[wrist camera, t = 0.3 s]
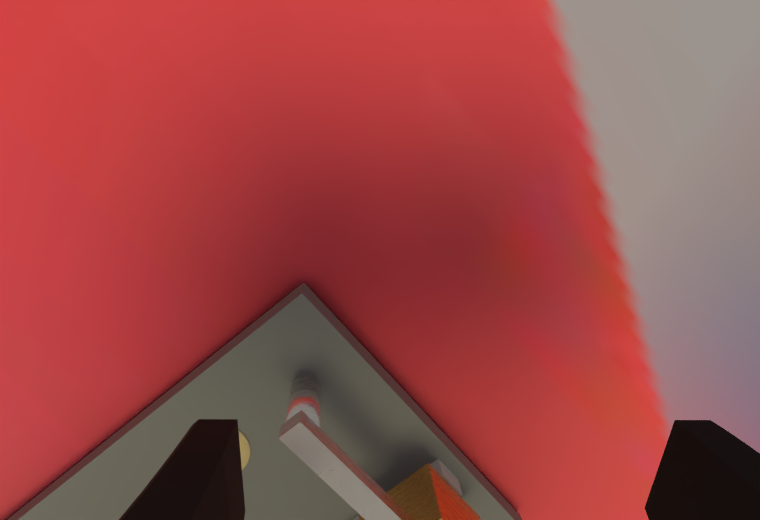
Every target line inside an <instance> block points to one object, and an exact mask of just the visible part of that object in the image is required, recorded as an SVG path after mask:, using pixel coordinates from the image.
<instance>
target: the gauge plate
mask: <svg viewBox="0 0 760 520" xmlns="http://www.w3.org/2000/svg"><path fill="white" fill-rule="evenodd" d="M304 375H308V376H312V377H314V378H316V379H317V380H318V381H319V383H320V385H321V409H320V428H321V429H322V430H323V431H324V432H325V433H326V434H327V435H328V436H329V437H330V438H331V439H332V440H333V441H334V442H335V443H336V444H337V445H338V446H339V447H340V448H341V449H342V450H343V451H344V452H345V453H346V454H347V455H348V456H349V457H350V458H351V459H352V460H353V461H354V462H355V463H356V464H357V465H359V466H360V467H361V468H362V469H363V470H364V471H365V472H366V473H367V474H368V475H369V476H370V477H371V478H372V479H373V480H374V481H375V482H376V483H377V484H378V485H379V486H380V487H381V488H382V489H383V490H384V491H385V492H388V491H389V490H390V489H392V488H393V487H395V486H396V485H397V484H399V483H400V482H402V481H403V480H404V479H406V478H407V477H409V476H410V475H411V474H413V473H414V472H416V471H417V470H418V469H420V468H421V467H423V466H424V465H425V464H427V463H429V464H430V465H431V466H432V467H433V468H434V469H435V470H436V471H437V472H438V474H439V475H440V476H441V477H442V478H443V479H444V480H445V481H446V482H447V483H448V484H449V485H450V486H451V487H452V488H453V489H454V490H455V491H456V492H457V493H458V494H459V495H460V496H461V497H462V498H463V499H464V501H465V502H466V503H467V504H468V505H469V506H470V507H471V508H472V509H473V510H474V511H475V512H476V513H477V514H478V515H479V516H480V519H481V520H522V519H521V516H520V515H519V514H518V512H517V511H516V510H515V509H514V508H513V507H512V506H511V505H510V504H509V503H508V502H507V501H506V500H505V498H504V497H503V496H502V495H501V494H500V493H499V492H498V491H497V490H496V489H495V488H494V487H493V486H492V484H491V483H490V482H489V481H488V480H487V479H486V478H485V477H484V476H483V475H482V474H481V473H480V472H479V470H478V469H477V468H476V467H475V466H474V465H473V464H472V463H471V462H470V461H469V460H468V459H467V458H466V456H465V455H464V454H463V453H462V452H461V451H460V450H459V449H458V448H457V447H456V446H455V445H454V444H453V442H452V441H451V440H450V439H449V438H448V437H447V436H446V435H445V434H444V433H443V432H442V431H441V429H440V428H439V427H438V426H437V425H436V424H435V423H434V422H433V421H432V420H431V419H430V418H429V417H428V415H427V414H426V413H425V412H424V411H423V410H422V409H421V408H420V407H419V406H418V405H417V404H416V403H415V401H414V400H413V399H412V398H411V397H410V396H409V395H408V394H407V393H406V392H405V391H404V390H403V389H402V387H401V386H400V385H399V384H398V383H397V382H396V381H395V380H394V379H393V378H392V377H391V376H390V375H389V373H388V372H387V371H386V370H385V369H384V368H383V367H382V366H381V365H380V364H379V363H378V362H377V361H376V359H375V358H374V357H373V356H372V355H371V354H370V353H369V352H368V351H367V350H366V349H365V348H364V347H363V345H362V344H361V343H360V342H359V341H358V340H357V339H356V338H355V337H354V336H353V335H352V334H351V333H350V331H349V330H348V329H347V328H346V327H345V326H344V325H343V324H342V323H341V322H340V321H339V320H338V318H337V317H336V316H335V315H334V314H333V313H332V312H331V311H330V310H329V309H328V308H327V307H326V306H325V304H324V303H323V302H322V301H321V300H320V299H319V298H318V297H317V296H316V295H315V294H314V293H313V292H312V290H311V289H310V288H309V287H308V286H307V285H306V284H305V283H304V282H303V283H302V284H301V285H299V286H298V287H297V288H296V289H294V290H293V291H292V292H291V293H289V294H288V295H287V296H286V297H284V298H283V299H282V300H281V301H279V302H278V303H277V304H276V305H274V306H273V307H272V308H271V309H269V310H268V311H267V312H266V313H264V314H263V315H262V316H261V317H259V318H258V319H257V320H256V321H254V322H253V323H252V324H251V325H249V326H248V327H247V328H246V329H244V330H243V331H242V332H241V333H239V334H238V335H237V336H236V337H234V338H233V339H232V340H231V341H229V342H228V343H227V344H226V345H224V346H223V347H222V348H221V349H219V350H218V351H217V352H216V353H215V354H213V355H212V356H211V357H210V358H208V359H207V360H206V361H205V362H203V363H202V364H201V365H200V366H198V367H197V368H196V369H195V370H193V371H192V372H191V373H190V374H188V375H187V376H186V377H185V378H183V379H182V380H181V381H180V382H178V383H177V384H176V385H175V386H173V387H172V388H171V389H170V390H168V391H167V392H166V393H165V394H163V395H162V396H161V397H160V398H158V399H157V400H156V401H155V402H153V403H152V404H151V405H150V406H148V407H147V408H146V409H145V410H143V411H142V412H141V413H140V414H138V415H137V416H136V417H135V418H133V419H132V420H131V421H130V422H128V423H127V424H126V425H125V426H123V427H122V428H121V429H120V430H118V431H117V432H116V433H115V434H113V435H112V436H111V437H110V438H108V439H107V440H106V441H105V442H103V443H102V444H101V445H100V446H98V447H97V448H96V449H95V450H93V451H92V452H91V453H90V454H88V455H87V456H86V457H85V458H83V459H82V460H81V461H80V462H78V463H77V464H76V465H75V466H73V467H72V468H71V469H70V470H68V471H67V472H66V473H65V474H63V475H62V476H61V477H60V478H58V479H57V480H56V481H55V482H53V483H52V484H51V485H50V486H48V487H47V488H46V489H45V490H43V491H42V492H41V493H40V494H38V495H37V496H36V497H35V498H33V499H32V500H31V501H30V502H28V503H27V504H26V505H25V506H23V507H22V508H21V509H20V510H18V511H17V512H16V513H15V514H13V515H12V516H11V517H10V518H8V519H7V520H119V519H120V518H121V516H122V515H123V514H124V513H125V512H126V510H127V509H128V508H129V507H130V505H131V504H132V503H133V502H134V501H135V499H136V498H137V497H138V496H139V495H140V493H141V492H142V491H143V490H144V488H145V487H146V486H147V485H148V483H149V482H150V481H151V479H152V478H153V477H154V476H155V474H156V473H157V472H158V470H159V469H160V468H161V467H162V465H163V464H164V463H165V461H166V460H167V459H168V457H169V456H170V455H171V453H172V452H173V451H174V449H175V448H176V447H177V445H178V444H179V443H180V441H181V440H182V438H183V437H184V436H185V434H186V433H187V432H188V430H189V429H190V427H191V426H192V425H193V424H194V423H195V422H196V421H197V420H199V419H238V431H239V442H240V454H241V466H242V478H243V489H244V501H245V516H244V520H359V513H358V512H356V511H355V510H354V509H353V508H352V507H351V506H350V505H349V504H348V503H347V502H346V501H345V500H344V499H343V498H342V497H341V496H339V495H338V494H337V493H336V492H335V491H334V490H333V489H332V488H331V487H330V486H329V485H328V484H327V483H326V482H325V481H323V480H322V479H321V478H320V477H319V476H318V475H317V474H316V473H315V472H314V471H313V470H312V469H311V468H310V467H309V466H308V465H306V464H305V463H304V462H303V461H302V460H301V459H300V458H299V457H298V456H297V455H296V454H295V453H294V452H293V451H292V450H290V449H289V448H288V447H287V446H286V445H285V444H284V443H283V442H282V441H281V440H280V439H279V432H280V426H281V425H282V424H283V423H285V422H286V418H287V410H288V403H289V395H290V388H291V384H292V382H293V381H294V380H295V379H296V378H298V377H300V376H304Z"/></svg>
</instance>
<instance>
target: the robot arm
mask: <svg viewBox="0 0 760 520" xmlns="http://www.w3.org/2000/svg"><path fill="white" fill-rule="evenodd" d="M645 510H646V513H647V515H648V518H649V520H760V453H758V452H756V451H755V450H754V449H752V448H751V447H750V446H748V445H746V444H745V443H744V442H742V441H741V440H739V439H738V438H737V437H735V436H734V435H732V434H731V433H729V432H728V431H726V430H725V429H723V428H722V427H720V426H718V425H717V424H715V423H714V422H712V421H710V420H675V422H674V424H673V427H672V430H671V433H670V436H669V439H668V442H667V445H666V448H665V451H664V453H663V456H662V459H661V462H660V465H659V468H658V471H657V474H656V477H655V480H654V483H653V485H652V488H651V491H650V494H649V497H648V500H647V503H646V506H645ZM244 516H245V501H244V489H243V478H242V466H241V454H240V442H239V431H238V419H199V420H197V421H196V422H195V423H194V424H193V425H192V426H191V427H190V429H189V430H188V432H187V433H186V434H185V436H184V437H183V438H182V440H181V441H180V443H179V444H178V445H177V447H176V448H175V449H174V451H173V452H172V453H171V455H170V456H169V457H168V459H167V460H166V461H165V463H164V464H163V465H162V467H161V468H160V469H159V470H158V472H157V473H156V474H155V476H154V477H153V478H152V479H151V481H150V482H149V483H148V485H147V486H146V487H145V488H144V490H143V491H142V492H141V493H140V495H139V496H138V497H137V498H136V499H135V501H134V502H133V503H132V504H131V505H130V507H129V508H128V509H127V510H126V512H125V513H124V514H123V515H122V516H121V518H120V519H119V520H244Z"/></svg>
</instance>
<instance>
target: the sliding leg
mask: <svg viewBox="0 0 760 520" xmlns="http://www.w3.org/2000/svg"><path fill="white" fill-rule="evenodd" d="M320 409H321V385H320V383H319V381H318V380H317V379H316V378H314V377H312V376H308V375H304V376H300V377H298V378H296V379H295V380H294V381H293V382H292V384H291V388H290V395H289V403H288V410H287V418H286V422H285V423H283V424H282V425H281V426H280V432H279V439H280V440H281V441H282V442H283V443H284V444H285V445H286V446H287V447H288V448H289V449H290V450H292V451H293V452H294V453H295V454H296V455H297V456H298V457H299V458H300V459H301V460H302V461H303V462H304V463H305V464H306V465H308V466H309V467H310V468H311V469H312V470H313V471H314V472H315V473H316V474H317V475H318V476H319V477H320V478H321V479H322V480H323V481H325V482H326V483H327V484H328V485H329V486H330V487H331V488H332V489H333V490H334V491H335V492H336V493H337V494H338V495H339V496H341V497H342V498H343V499H344V500H345V501H346V502H347V503H348V504H349V505H350V506H351V507H352V508H353V509H354V510H355V511H356V512H358V513H359V520H481V519H480V516H479V515H478V514H477V513H476V512H475V511H474V510H473V509H472V508H471V507H470V506H469V505H468V504H467V503H466V502H465V501H464V499H463V498H462V497H461V496H460V495H459V494H458V493H457V492H456V491H455V490H454V489H453V488H452V487H451V486H450V485H449V484H448V483H447V482H446V481H445V480H444V479H443V478H442V477H441V476H440V475H439V474H438V472H437V471H436V470H435V469H434V468H433V467H432V466H431V465H430V464H429V463H427V464H425V465H424V466H423V467H421V468H420V469H418V470H417V471H416V472H414V473H413V474H411V475H410V476H409V477H407V478H406V479H404V480H403V481H402V482H400V483H399V484H397V485H396V486H395V487H393V488H392V489H390V490H389V491H388V492H385V491H384V490H383V489H382V488H381V487H380V486H379V485H378V484H377V483H376V482H375V481H374V480H373V479H372V478H371V477H370V476H369V475H368V474H367V473H366V472H365V471H364V470H363V469H362V468H361V467H360V466H359V465H357V464H356V463H355V462H354V461H353V460H352V459H351V458H350V457H349V456H348V455H347V454H346V453H345V452H344V451H343V450H342V449H341V448H340V447H339V446H338V445H337V444H336V443H335V442H334V441H333V440H332V439H331V438H330V437H329V436H328V435H327V434H326V433H325V432H324V431H323V430H322V429H321V428H320Z"/></svg>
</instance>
